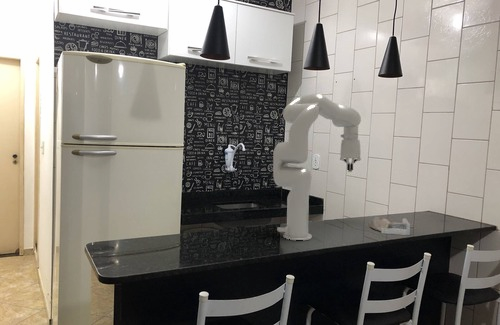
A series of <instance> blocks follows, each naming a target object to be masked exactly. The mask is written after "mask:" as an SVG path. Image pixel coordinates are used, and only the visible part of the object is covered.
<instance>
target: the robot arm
mask: <svg viewBox="0 0 500 325" xmlns="http://www.w3.org/2000/svg"><path fill="white" fill-rule="evenodd" d="M282 115H283V119H284V121H285V122H286V123H289V124H291V125H290V127H289V130H288V141H282V142H279V143H277V145H275V146H274V149H273V154H272V155H273V156H272V157H273V159H272V163H273V164H272V165H273V169H272V171H273V181H274V183H275V185H276V186H278V187H280V188H281V187H282V188H283V187H284V188H289V189H290V191H289V193H288V195H287V199H286V203H287V204H286V206H287V207H286V208H287V209H286V226H284V227H278V226H277V228H276V230H277V232H278V233H283V235H282V236H283V238H284V239H285V238H286V240H289V239H290V241H296V240H303V241H308V240H309V241H310V240H311V239H312V237H313V235H312V234H311V233H309V208H310V207H309V205H310V204H309V199H310V189H311V188H310V187H311V183H312V173H311V171H310V170H309V169H308V168H307V167H303V166H293V165H292V166H290V165H289V164H295V165H297V164H305V163H306V162H307V161H308V158H309V157H308V156H309V132H310V129H311V126H312V125H313V124H314V123H315V121H316V120H317V119H318V117H319V116H321V117H323V118H324V119H326V120H331V122H332V125H333V126H334V127H338V128H343V134H340V138H342V139H341V143H340V154H339V155H340V158H339V160H340V161H343V162H344V163H346V167H347V168H346V169H347V170H346V171H348V173H352V171H354V164H355V163H356V162H359V161H361V160H362V158H361V141H360V139H359V125H360V124H361V121H362V120H361V119H362V118H361V115H360V113H359V112H358V111H357V110H356V109H354V108H353V107H351V106H347V105H343V104H339V103H336V102H333V101H332V100H330V99H329V98H327V97H326V96H325V95H323V94H320V93H311V94H303V95H300V96H298V97H297V98H295V99H294V100H292V101H291V102H289V103H288V104H287V105H286V106H285V108H284V109H283V112H282ZM349 159H351V162H350V161H349Z"/></svg>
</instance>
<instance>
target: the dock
mask: <svg viewBox="0 0 500 325" xmlns="http://www.w3.org/2000/svg"><path fill="white" fill-rule="evenodd" d="M391 224H392V228H381V231H380V233H381V234H384V235H385V234H387V235H401V236H402V235H403V236H410V235H411V224H410V222H409V221H408V219H407V218H405V217H404V218H402V222H396V223H395V222H391Z"/></svg>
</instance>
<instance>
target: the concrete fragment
mask: <svg viewBox="0 0 500 325" xmlns="http://www.w3.org/2000/svg"><path fill="white" fill-rule="evenodd" d="M391 223H392V222H391V221H390V220H389V219H388V218H382V217H379V216H374V217H373V218H372V220H371V221H369V223H368V228H372V229H374V230H376V231H379V232H381V228H392V224H391Z"/></svg>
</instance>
